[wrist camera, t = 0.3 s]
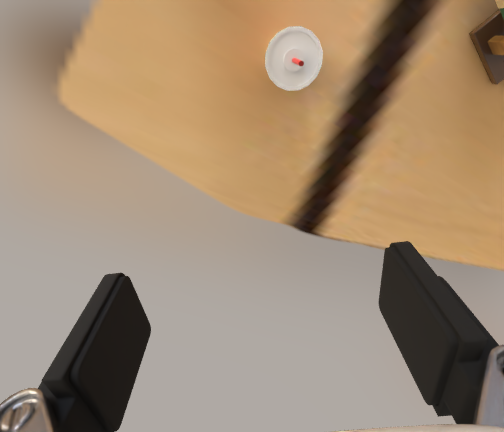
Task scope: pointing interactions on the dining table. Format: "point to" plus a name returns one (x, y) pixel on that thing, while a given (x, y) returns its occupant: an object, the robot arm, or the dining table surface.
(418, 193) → the dining table surface
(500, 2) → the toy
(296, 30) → the beverage cup
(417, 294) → the robot arm
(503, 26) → the toy stand
